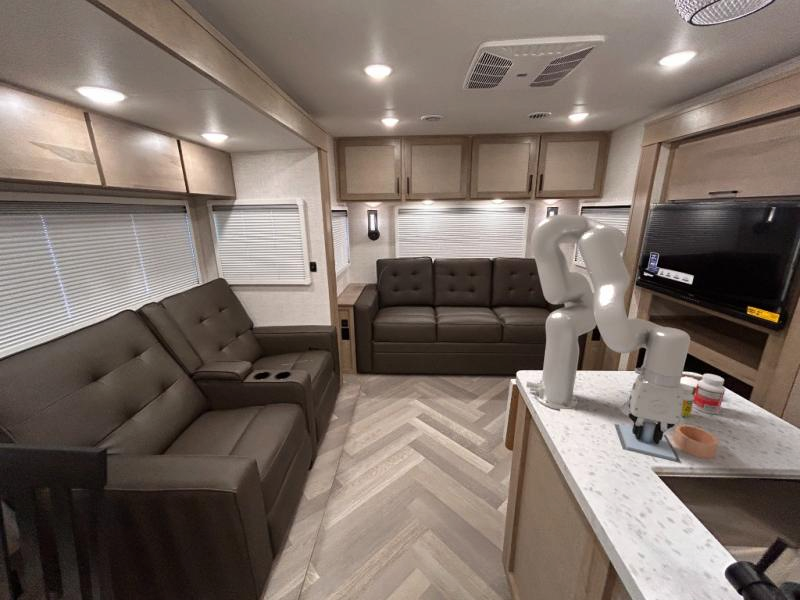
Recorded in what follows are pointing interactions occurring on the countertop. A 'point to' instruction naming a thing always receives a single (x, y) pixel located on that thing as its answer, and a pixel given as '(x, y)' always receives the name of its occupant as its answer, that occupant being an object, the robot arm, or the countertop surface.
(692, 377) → the garlic corral
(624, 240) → the robot arm
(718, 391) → the pill bottle
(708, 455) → the bowl
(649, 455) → the mat
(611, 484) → the countertop surface
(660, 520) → the countertop surface
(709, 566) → the countertop surface
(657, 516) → the countertop surface
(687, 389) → the supplement bottle
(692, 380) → the garlic
